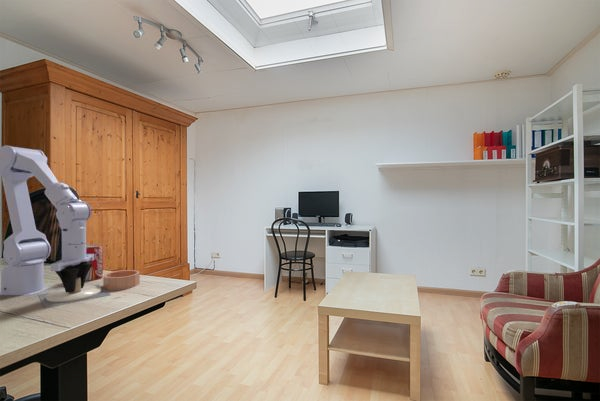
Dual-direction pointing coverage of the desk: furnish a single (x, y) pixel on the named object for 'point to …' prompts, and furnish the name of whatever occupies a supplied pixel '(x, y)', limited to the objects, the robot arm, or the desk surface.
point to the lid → (73, 293)
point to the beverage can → (95, 262)
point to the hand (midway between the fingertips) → (74, 290)
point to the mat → (52, 304)
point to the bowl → (121, 279)
